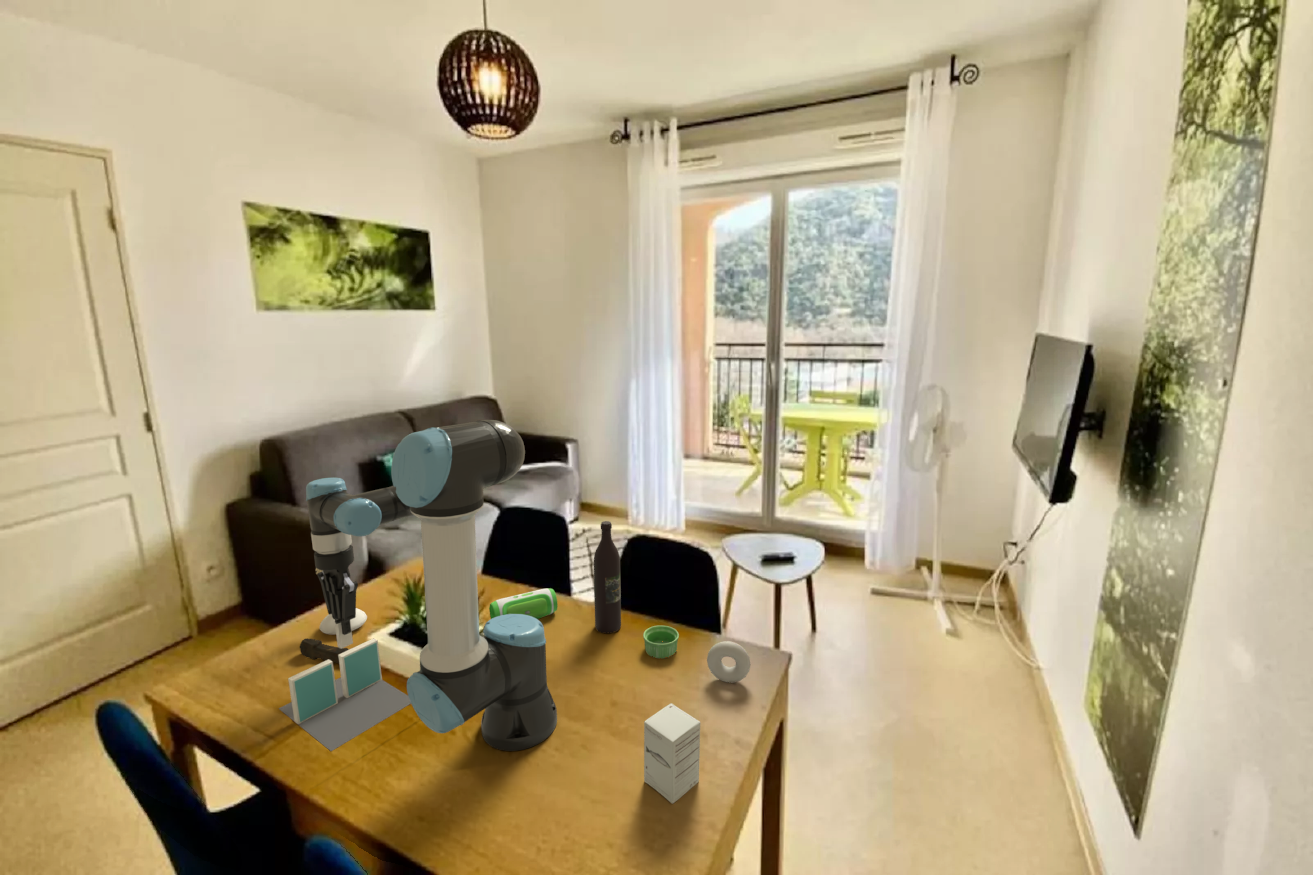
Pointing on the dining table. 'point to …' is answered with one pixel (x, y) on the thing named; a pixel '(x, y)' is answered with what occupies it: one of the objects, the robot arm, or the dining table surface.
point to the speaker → (526, 604)
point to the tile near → (313, 691)
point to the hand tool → (320, 650)
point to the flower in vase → (329, 623)
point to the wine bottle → (607, 583)
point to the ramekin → (660, 641)
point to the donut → (734, 652)
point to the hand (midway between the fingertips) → (345, 645)
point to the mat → (352, 713)
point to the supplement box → (671, 752)
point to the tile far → (360, 667)
